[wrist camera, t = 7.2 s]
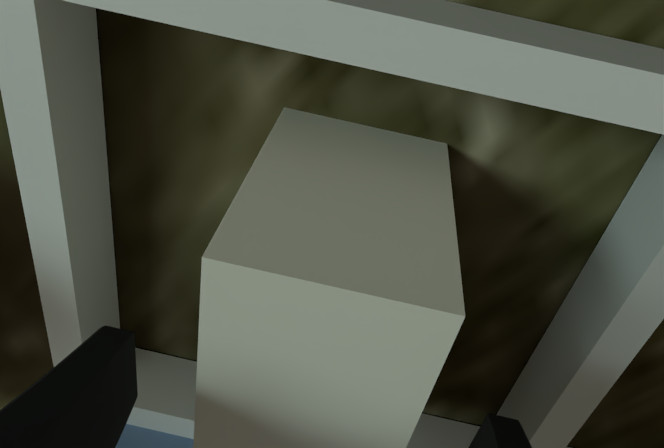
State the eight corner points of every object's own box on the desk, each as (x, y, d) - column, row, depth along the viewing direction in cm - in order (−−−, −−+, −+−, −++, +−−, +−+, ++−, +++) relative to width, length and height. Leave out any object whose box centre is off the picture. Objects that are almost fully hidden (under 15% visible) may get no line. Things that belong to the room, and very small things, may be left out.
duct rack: (873, 553, 19) (967, 694, 16) (97, 374, 20) (33, 477, 16) (1437, 220, 11) (1886, 377, 7) (42, -89, 11) (-119, -69, 8)
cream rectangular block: (373, 360, 17) (356, 557, 12) (254, 333, 17) (189, 518, 12) (447, 142, 13) (465, 316, 8) (285, 105, 13) (201, 257, 8)
